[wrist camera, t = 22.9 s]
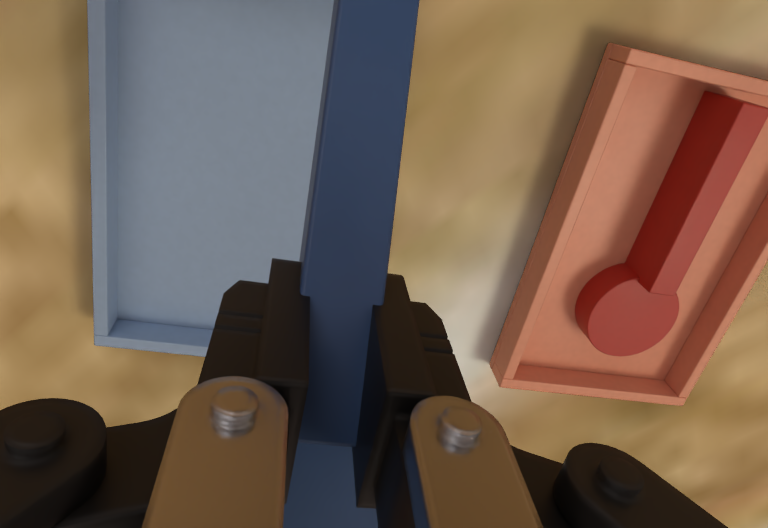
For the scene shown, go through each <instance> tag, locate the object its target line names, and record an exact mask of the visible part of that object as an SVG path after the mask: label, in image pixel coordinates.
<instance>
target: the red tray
mask: <svg viewBox="0 0 768 528" xmlns="http://www.w3.org/2000/svg"><path fill="white" fill-rule="evenodd" d="M704 91H710V92H714V93H719V94H723V95H727V96H731V97H734V98H738V99H741V100H744V101H747V102H751V103H754V104H757V105H761V106H764V107H767V108H768V81H766V80H762V79H758V78H754V77H750V76H746V75H741V74H737V73H733V72H729V71H725V70H721V69H717V68H712V67H708V66H704V65H700V64H696V63H692V62H688V61H683V60H679V59H675V58H671V57H667V56H663V55H659V54H654V53H650V52H646V51H642V50H638V49H634V48H630V47H625V46H621V45H617V44H613V43H608V45H607V48H606V50H605V53H604V56H603V58H602V61H601V64H600V66H599V69H598V72H597V75H596V77H595V80H594V83H593V85H592V88H591V91H590V93H589V96H588V99H587V102H586V104H585V107H584V110H583V112H582V115H581V118H580V121H579V123H578V126H577V129H576V131H575V134H574V137H573V139H572V142H571V145H570V148H569V150H568V153H567V156H566V158H565V161H564V164H563V166H562V169H561V172H560V175H559V177H558V180H557V183H556V185H555V188H554V191H553V193H552V196H551V199H550V202H549V204H548V207H547V210H546V212H545V215H544V218H543V220H542V223H541V226H540V229H539V231H538V234H537V237H536V239H535V242H534V245H533V247H532V250H531V253H530V256H529V258H528V261H527V264H526V266H525V269H524V272H523V274H522V277H521V280H520V283H519V285H518V288H517V291H516V293H515V296H514V299H513V301H512V304H511V307H510V310H509V312H508V315H507V318H506V320H505V323H504V326H503V329H502V331H501V334H500V337H499V339H498V342H497V345H496V347H495V350H494V353H493V356H492V358H491V361H490V367H491V369H492V371H493V373H494V375H495V378H496V380H497V382H498V385H499V387H504V388H514V389H523V390H533V391H543V392H552V393H562V394H572V395H581V396H591V397H601V398H611V399H620V400H630V401H640V402H649V403H659V404H669V405H679V406H683V404H684V403H685V401H686V399H687V397H688V396H689V394H690V392H691V391H692V389H693V387H694V386H695V384H696V382H697V380H698V379H699V377H700V375H701V374H702V372H703V370H704V368H705V367H706V365H707V363H708V362H709V360H710V358H711V356H712V355H713V353H714V351H715V350H716V348H717V346H718V345H719V343H720V341H721V339H722V338H723V336H724V334H725V333H726V331H727V329H728V327H729V326H730V324H731V322H732V321H733V319H734V317H735V315H736V314H737V312H738V310H739V309H740V307H741V305H742V304H743V302H744V300H745V298H746V297H747V295H748V293H749V292H750V290H751V288H752V286H753V285H754V283H755V281H756V280H757V278H758V276H759V275H760V273H761V271H762V269H763V268H764V266H765V264H766V263H767V261H768V118H767V120H766V122H765V124H764V126H763V127H762V129H761V131H760V133H759V135H758V137H757V139H756V141H755V143H754V145H753V147H752V148H751V150H750V152H749V154H748V156H747V158H746V160H745V162H744V164H743V166H742V168H741V169H740V171H739V173H738V175H737V177H736V179H735V181H734V183H733V185H732V187H731V189H730V190H729V192H728V194H727V196H726V198H725V200H724V202H723V204H722V206H721V208H720V210H719V211H718V213H717V215H716V217H715V219H714V221H713V223H712V225H711V227H710V229H709V231H708V232H707V234H706V236H705V238H704V240H703V242H702V244H701V246H700V248H699V250H698V252H697V253H696V255H695V257H694V259H693V261H692V263H691V265H690V267H689V269H688V271H687V273H686V274H685V276H684V278H683V280H682V282H681V284H680V286H679V288H678V290H677V292H676V293H677V296H678V299H679V312H678V316H677V319H676V321H675V324H674V325H673V327H672V329H671V330H670V331H669V333H668V334H667V335H666V336H665V337H664V338H663V339H662V340H661V341H660V342H659V343H657V344H656V345H654V346H653V347H651V348H649V349H648V350H645V351H643V352H641V353H638V354H635V355H630V356H621V357H620V356H611V355H607V354H604V353H602V352H600V351H599V350H597V349H596V348H595V347H594V346H593V345H592V344H591V342H590V341H589V339H588V338H587V337H586V335H585V334H584V333H583V331H582V330H581V329H580V327H579V326H578V324H577V321H576V318H575V305H576V301H577V298H578V296H579V294H580V292H581V290H582V289H583V287H584V286H585V285H586V283H587V282H588V281H589V280H590V279H591V278H592V277H594V276H595V275H596V274H597V273H599V272H601V271H602V270H604V269H606V268H608V267H611V266H613V265H617V264H621V263H625V261H626V259H627V257H628V255H629V253H630V250H631V248H632V246H633V244H634V242H635V240H636V237H637V235H638V233H639V231H640V229H641V227H642V225H643V222H644V220H645V218H646V216H647V214H648V212H649V209H650V207H651V205H652V203H653V201H654V199H655V197H656V194H657V192H658V190H659V188H660V186H661V184H662V181H663V179H664V177H665V175H666V173H667V171H668V168H669V166H670V164H671V162H672V160H673V158H674V156H675V153H676V151H677V149H678V147H679V145H680V143H681V140H682V138H683V136H684V134H685V132H686V130H687V128H688V125H689V123H690V121H691V119H692V117H693V115H694V112H695V110H696V108H697V106H698V104H699V102H700V99H701V97H702V95H703V93H704Z"/></svg>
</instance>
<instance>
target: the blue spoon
mask: <svg viewBox="0 0 768 528" xmlns="http://www.w3.org/2000/svg"><path fill="white" fill-rule="evenodd" d="M418 7H419V0H334V3H333V11H332V18H331V26H330V33H329V41H328V48H327V56H326V63H325V71H324V78H323V86H322V93H321V101H320V108H319V116H318V124H317V131H316V139H315V146H314V154H313V161H312V169H311V176H310V184H309V191H308V199H307V206H306V214H305V221H304V229H303V236H302V244H301V251H300V259H299V262H301V276H300V290H299V292H300V294H301V295H304V296H310V333H309V385H308V391H307V396H306V401H305V407H304V412H303V417H302V423H301V428H300V433H299V439H298V444H297V449H296V455H295V460H294V465H293V471H292V476H291V481H290V487H289V492H288V497H287V503H286V504H284V519H283V528H377V527H378V521H377V512H376V509H373V508H357V506H356V493H355V480H354V467H353V454H352V447H356V441H357V433H358V425H359V416H360V408H361V399H362V391H363V383H364V374H365V366H366V358H367V349H368V341H369V333H370V324H371V316H372V308H373V305H383V304H384V297H385V289H386V280H387V272H388V263H389V254H390V246H391V237H392V229H393V220H394V212H395V203H396V195H397V186H398V178H399V169H400V161H401V152H402V144H403V135H404V127H405V118H406V110H407V101H408V93H409V84H410V76H411V67H412V58H413V50H414V41H415V33H416V24H417V16H418Z"/></svg>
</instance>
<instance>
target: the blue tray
mask: <svg viewBox="0 0 768 528" xmlns="http://www.w3.org/2000/svg"><path fill="white" fill-rule="evenodd" d="M333 3H334V0H87V12H88V62H89V111H90V160H91V210H92V259H93V309H94V345H96V346H106V347H115V348H125V349H135V350H144V351H154V352H164V353H174V354H183V355H193V356H203V357H206V353H207V350H208V346H209V343H210V339H211V336H212V332H213V329H214V326H215V322H216V318H217V315H218V312H219V308H220V304H221V301H222V297H223V294H224V292H226V291H227V290H228V289H229V288H230V287H232V286H233V285H234V284H235V283H236V282H238V281H239V280H244V281H252V282H260V283H268V282H269V275H270V269H271V262H272V258H277V259H284V260H292V261H299V259H300V251H301V244H302V236H303V229H304V221H305V214H306V206H307V199H308V191H309V184H310V176H311V169H312V161H313V154H314V146H315V139H316V131H317V124H318V116H319V108H320V101H321V93H322V86H323V78H324V71H325V63H326V56H327V48H328V41H329V33H330V26H331V18H332V11H333Z"/></svg>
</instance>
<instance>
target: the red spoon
mask: <svg viewBox="0 0 768 528" xmlns="http://www.w3.org/2000/svg"><path fill="white" fill-rule="evenodd" d="M767 118H768V108H767V107H764V106H761V105H757V104H754V103H751V102H747V101H744V100H741V99H738V98H734V97H731V96H727V95H723V94H719V93H714V92H710V91H704V93H703V95H702V97H701V99H700V102H699V104H698V106H697V108H696V110H695V112H694V115H693V117H692V119H691V121H690V123H689V125H688V128H687V130H686V132H685V134H684V136H683V138H682V140H681V143H680V145H679V147H678V149H677V151H676V153H675V156H674V158H673V160H672V162H671V164H670V166H669V168H668V171H667V173H666V175H665V177H664V179H663V181H662V184H661V186H660V188H659V190H658V192H657V194H656V197H655V199H654V201H653V203H652V205H651V207H650V209H649V212H648V214H647V216H646V218H645V220H644V222H643V225H642V227H641V229H640V231H639V233H638V235H637V237H636V240H635V242H634V244H633V246H632V248H631V250H630V253H629V255H628V257H627V259H626V261H625V263H621V264H617V265H613V266H611V267H608V268H606V269H604V270H602V271H601V272H599V273H597V274H596V275H595V276H594V277H592V278H591V279H590V280H589V281H588V282H587V283H586V285H585V286H584V287H583V289H582V290H581V292H580V294H579V296H578V298H577V301H576V305H575V318H576V321H577V324H578V326H579V327H580V329H581V330H582V331H583V333H584V334H585V335H586V337H587V338H588V339H589V341H590V342H591V344H592V345H593V346H594V347H595V348H596V349H597V350H599V351H600V352H602V353H604V354H607V355H611V356H620V357H621V356H630V355H635V354H638V353H641V352H643V351H645V350H648V349H649V348H651V347H653V346H654V345H656V344H657V343H659V342H660V341H661V340H662V339H663V338H664V337H665V336H666V335H667V334H668V333H669V331H670V330H671V329H672V327H673V325H674V324H675V321H676V319H677V316H678V312H679V299H678V296H677V293H676V292H677V290H678V288H679V286H680V284H681V282H682V280H683V278H684V276H685V274H686V273H687V271H688V269H689V267H690V265H691V263H692V261H693V259H694V257H695V255H696V253H697V252H698V250H699V248H700V246H701V244H702V242H703V240H704V238H705V236H706V234H707V232H708V231H709V229H710V227H711V225H712V223H713V221H714V219H715V217H716V215H717V213H718V211H719V210H720V208H721V206H722V204H723V202H724V200H725V198H726V196H727V194H728V192H729V190H730V189H731V187H732V185H733V183H734V181H735V179H736V177H737V175H738V173H739V171H740V169H741V168H742V166H743V164H744V162H745V160H746V158H747V156H748V154H749V152H750V150H751V148H752V147H753V145H754V143H755V141H756V139H757V137H758V135H759V133H760V131H761V129H762V127H763V126H764V124H765V122H766V120H767Z"/></svg>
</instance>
